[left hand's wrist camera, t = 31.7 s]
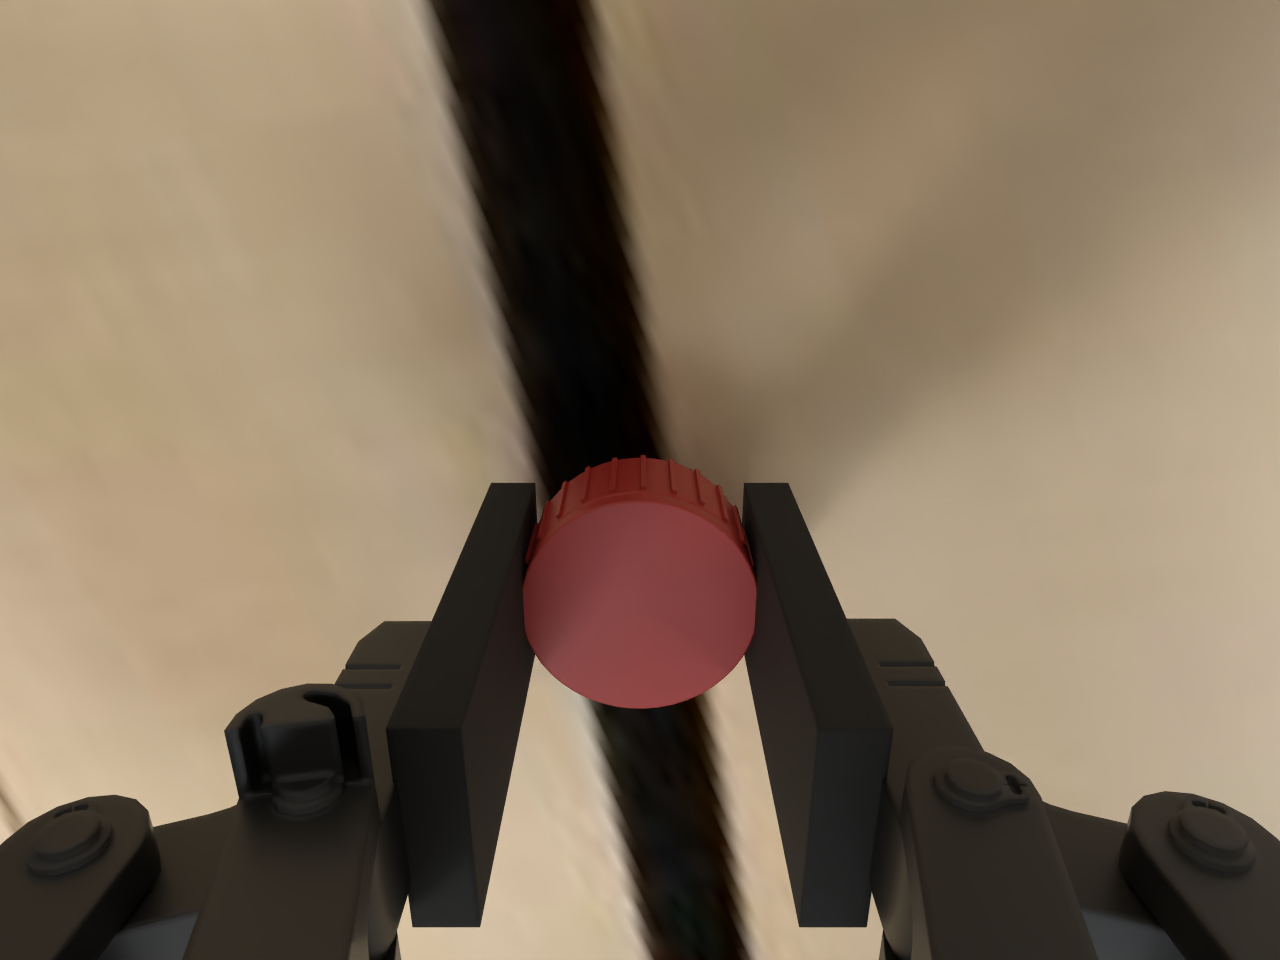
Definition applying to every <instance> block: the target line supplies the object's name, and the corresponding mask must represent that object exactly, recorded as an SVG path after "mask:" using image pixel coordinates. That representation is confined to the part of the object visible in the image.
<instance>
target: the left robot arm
mask: <svg viewBox="0 0 1280 960" xmlns="http://www.w3.org/2000/svg"><path fill="white" fill-rule="evenodd" d="M535 523H537V510H536V490H535V483H491V485H490V487H489V489H488V492H487V494H486V496H485V499H484V501H483V503H482V506H481V508H480V510H479V513H478V515H477V517H476V520H475V522H474V524H473V527H472V529H471V531H470V533H469V536H468V538H467V540H466V543H465V545H464V547H463V550H462V552H461V554H460V557H459V559H458V561H457V564H456V566H455V568H454V571H453V573H452V575H451V578H450V580H449V582H448V585H447V587H446V589H445V592H444V594H443V596H442V599H441V601H440V603H439V606H438V608H437V610H436V613H435V615H434V617H433V619H432V621H384V622H383V623H382V624H380V625H379V626H378V627H377V628H375V629H374V630H373V631H371V632H370V633H369V634H368V635H366V636H365V637H364V638H362V639H361V640H360V641H359V642H358V643H357V645H356V647H355V649H354V650H353V652H352V654H351V656H350V658H349V659H348V661H347V663H346V668H345V669H343V670H342V672H341V674H340V676H339V677H338V679H337V681H336V683H335V685H334V684H304V685H299V686H294V687H289V688H284V689H280V690H278V691H276V692H273V693H271V694H269V695H266V696H264V697H262V698H259V699H257V700H255V701H254V702H253V703H251V704H250V705H248V706H247V707H246V708H244V709H243V710H241V711H240V712H239V713H237V714H236V715H235V717H234V718H233V719H232V721H231V722H230V724H229V725H228V726H227V728H226V729H225V730H224V732H225V737H226V741H227V746H228V750H229V754H230V759H231V763H232V768H233V772H234V777H235V781H236V786H237V790H238V795H239V800H238V803H237V805H235V806H233V807H231V808H228V809H225V810H221V811H218V812H215V813H211V814H208V815H204V816H199V817H195V818H191V819H186V820H182V821H178V822H173V823H169V824H165V825H160V826H156V827H153V826H152V823H151V819H150V816H149V812H148V810H147V809H146V808H145V807H144V806H143V805H142V804H140V803H139V802H138V801H137V800H136V799H132V798H127V797H123V796H118V795H108V796H97V797H87V798H84V799H81V800H78V801H74V802H71V803H68V804H65V805H62V806H58V807H56V808H54V809H52V810H50V811H49V812H47V813H45V814H43V815H41V816H39V817H37V818H35V819H33V820H31V821H30V822H28V823H27V824H25V825H24V826H23V827H22V828H20V829H19V830H18V831H17V832H15V833H14V834H13V835H12V836H10V837H9V838H8V839H7V840H5V841H4V842H3V843H2V844H1V845H0V960H401V956H400V949H399V942H398V935H397V928H398V925H399V922H400V918H401V915H402V912H403V909H404V905H405V902H406V899H407V896H408V897H409V904H410V912H411V919H412V926H413V927H480V925H481V920H482V915H483V910H484V905H485V900H486V895H487V890H488V885H489V880H490V875H491V870H492V865H493V860H494V855H495V850H496V845H497V840H498V835H499V831H500V826H501V821H502V816H503V811H504V806H505V801H506V796H507V791H508V786H509V781H510V776H511V771H512V766H513V761H514V756H515V751H516V746H517V741H518V736H519V731H520V726H521V722H522V717H523V712H524V707H525V702H526V697H527V692H528V687H529V682H530V677H531V672H532V667H533V662H534V657H535V653H534V651H533V650H532V648H531V646H530V644H529V642H528V640H527V637H526V634H525V622H524V605H523V580H524V577H525V573H526V569H527V565H528V564H526V563H525V558H526V554H527V551H528V547H529V543H530V540H531V536H532V532H533V529H534V525H535ZM742 527H743V529H744V530H745V534H746V537H747V541H748V545H749V549H750V552H751V556H752V560H753V564H754V574H755V578H756V582H757V593H756V610H755V627H754V635H753V638H752V640H751V643H750V645H749V647H748V649H747V650H746V652H745V654H744V655H745V660H746V665H747V670H748V675H749V680H750V685H751V690H752V695H753V700H754V705H755V710H756V715H757V720H758V725H759V730H760V735H761V740H762V745H763V750H764V755H765V760H766V765H767V769H768V774H769V779H770V784H771V789H772V794H773V799H774V804H775V809H776V814H777V819H778V824H779V829H780V834H781V839H782V844H783V849H784V854H785V859H786V864H787V869H788V874H789V879H790V883H791V888H792V893H793V898H794V903H795V908H796V913H797V918H798V923H799V927H867V921H868V914H869V907H870V899H871V892H872V894H873V897H874V900H875V904H876V907H877V910H878V913H879V917H880V920H881V923H882V926H883V935H882V942H881V949H880V956H879V960H1280V841H1279V840H1278V839H1277V838H1276V837H1275V836H1273V835H1272V834H1271V833H1270V832H1268V831H1267V830H1266V829H1265V828H1263V827H1262V826H1261V825H1260V824H1258V823H1257V822H1256V821H1255V820H1253V819H1252V818H1250V817H1248V816H1246V815H1244V814H1242V813H1241V812H1239V811H1237V810H1235V809H1233V808H1231V807H1229V806H1227V805H1225V804H1223V803H1220V802H1217V801H1214V800H1211V799H1208V798H1204V797H1201V796H1198V795H1195V794H1189V793H1178V792H1167V791H1164V792H1160V793H1155V794H1150V795H1146V796H1143V797H1142V798H1141V799H1140V800H1139V801H1138V802H1137V803H1136V804H1135V805H1134V806H1133V807H1132V809H1131V812H1130V816H1129V820H1128V823H1127V824H1126V823H1121V822H1117V821H1112V820H1108V819H1104V818H1099V817H1095V816H1091V815H1086V814H1082V813H1077V812H1073V811H1069V810H1066V809H1063V808H1060V807H1056V806H1053V805H1050V804H1048V803H1045V802H1043V801H1042V798H1041V796H1040V795H1039V793H1038V791H1037V790H1036V788H1035V787H1034V785H1033V783H1032V782H1031V780H1030V779H1029V778H1028V777H1027V776H1025V775H1024V774H1023V773H1022V772H1020V771H1019V770H1018V769H1017V768H1016V767H1014V766H1013V765H1012V764H1011V763H1009V762H1007V761H1004V760H1002V759H1000V758H998V757H996V756H994V755H992V754H990V753H988V752H984V750H983V748H982V746H981V745H980V743H979V741H978V739H977V737H976V736H975V734H974V732H973V730H972V728H971V727H970V725H969V723H968V721H967V720H966V718H965V716H964V714H963V712H962V711H961V709H960V707H959V705H958V704H957V702H956V700H955V698H954V696H953V695H952V693H951V691H950V689H949V688H948V686H945V680H944V679H943V677H942V675H941V673H940V672H939V670H938V668H937V667H934V661H933V659H932V657H931V656H930V654H929V652H928V650H927V648H926V647H925V645H924V643H923V641H922V640H921V638H919V637H918V636H917V635H915V634H914V633H913V632H912V631H910V630H909V629H908V628H906V627H905V626H904V625H903V624H901V623H900V622H899V621H897V620H896V619H846V617H845V614H844V612H843V610H842V607H841V605H840V603H839V600H838V598H837V596H836V593H835V591H834V589H833V586H832V584H831V582H830V579H829V577H828V575H827V572H826V570H825V568H824V565H823V563H822V561H821V558H820V556H819V554H818V551H817V549H816V547H815V544H814V542H813V540H812V537H811V535H810V533H809V531H808V528H807V526H806V524H805V521H804V519H803V517H802V514H801V512H800V510H799V507H798V505H797V503H796V500H795V498H794V496H793V493H792V491H791V489H790V486H789V484H788V483H744V496H743V516H742Z"/></svg>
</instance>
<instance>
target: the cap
mask: <svg viewBox="0 0 1280 960" xmlns="http://www.w3.org/2000/svg"><path fill="white" fill-rule="evenodd" d="M525 563H526V564H528V565H527V569H526V573H525V577H524V580H523V605H524V622H525V634H526V637H527V640H528V642H529V644H530V646H531V648H532V650H533V651H534V653H535V655H536V656H537V657H538V659H539V660H540V662H541V663H542V664H543V666H544V667H545V668H546V669H547V670H548V671H549V672H550V673H551V674H552V675H553V676H554V677H555V678H556V679H558V680H559V681H560V682H561V683H562V684H564V685H565V686H567V687H568V688H570V689H571V690H573V691H575V692H577V693H579V694H581V695H582V696H584V697H586V698H589V699H592V700H595V701H597V702H600V703H604V704H608V705H612V706H617V707H625V708H655V707H662V706H667V705H672V704H676V703H679V702H682V701H685V700H688V699H690V698H693V697H695V696H697V695H699V694H701V693H703V692H705V691H706V690H708V689H710V688H711V687H713V686H714V685H716V684H717V683H718V682H720V681H721V680H722V679H723V678H725V677H726V676H727V675H728V674H729V673H730V672H731V671H732V670H733V669H734V667H735V666H736V665H737V664H738V662H739V661H740V660H741V658H742V657H743V655H744V654H745V652H746V650H747V649H748V647H749V645H750V643H751V640H752V638H753V635H754V627H755V610H756V593H757V582H756V578H755V574H754V564H753V560H752V556H751V552H750V549H749V545H748V541H747V537H746V534H745V530H744V529H743V527H742V523H741V519H740V516H739V512H738V508H737V507H736V505H734V506H732V505H731V504H730V502H729V501H728V500H727V498H726V497H725V496H724V494H723V492H722V488H721V487H720V486H719V485H717V486H715V485H714V484H712V483H711V482H710V481H708V480H707V479H706V478H704V477H703V476H701V474H700V471H699V470H697V469H695V471H693V470H691V469H688V468H686V467H684V466H682V465H679V464H676V463H674V460H672V459H669V461H665V460H659V459H652V458H646V455H641V458H629V459H620V460H617V457H616V458H612V461H611V462H607V463H604V464H601V465H598V466H596V467H593V468H591V467H590V466H588V467H586V468H585V472H583V473H581V474H580V475H578V476H577V477H575V478H574V479H572V480H571V481H570V482H567V481H565V482H564V483H563V484H562V488H561V490H560V491H559V492H558V493H557V494H556V495H555V496H554V498H553V499H552V500H551V501H549V500H547V501H546V503H545V506H544V510H543V514H542V517H541V519H540V522H539V524H538V523H535V525H534V529H533V532H532V536H531V540H530V543H529V547H528V551H527V554H526V558H525Z"/></svg>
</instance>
